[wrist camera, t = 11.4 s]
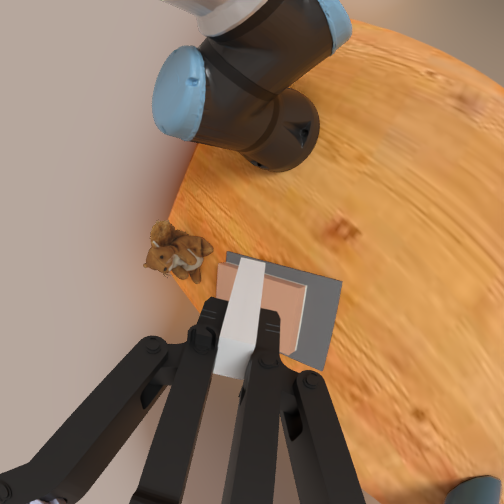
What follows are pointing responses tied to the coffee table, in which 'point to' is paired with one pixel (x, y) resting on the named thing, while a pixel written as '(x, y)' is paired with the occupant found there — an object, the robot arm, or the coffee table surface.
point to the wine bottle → (476, 492)
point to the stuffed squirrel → (176, 252)
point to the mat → (308, 310)
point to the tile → (272, 301)
